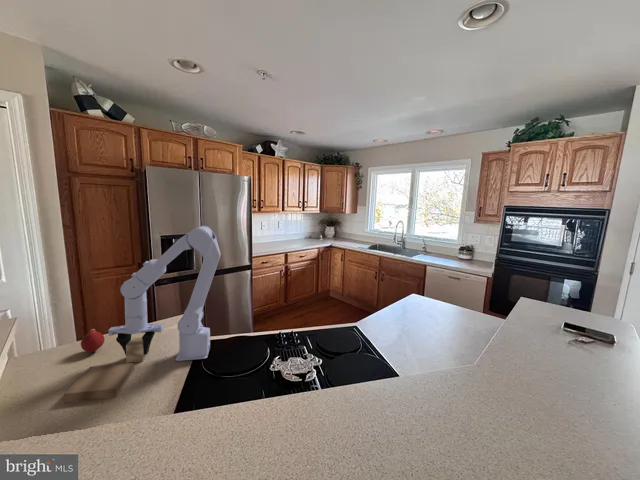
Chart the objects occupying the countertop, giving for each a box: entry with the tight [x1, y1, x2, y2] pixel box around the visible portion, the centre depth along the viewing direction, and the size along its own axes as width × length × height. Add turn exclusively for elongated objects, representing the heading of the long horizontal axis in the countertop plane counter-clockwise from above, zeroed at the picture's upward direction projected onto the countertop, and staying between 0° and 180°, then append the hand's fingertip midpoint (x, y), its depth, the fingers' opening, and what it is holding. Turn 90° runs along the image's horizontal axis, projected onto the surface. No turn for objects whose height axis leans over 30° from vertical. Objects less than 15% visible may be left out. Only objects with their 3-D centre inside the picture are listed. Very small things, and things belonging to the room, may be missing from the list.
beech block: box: [125, 336, 149, 364], centre depth 82 cm, size 4×4×6 cm
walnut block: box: [63, 362, 135, 404], centre depth 70 cm, size 11×11×3 cm
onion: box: [80, 328, 106, 353], centre depth 84 cm, size 6×6×8 cm
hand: (137, 353), depth 83 cm, fingers closed on beech block, 4 cm apart
